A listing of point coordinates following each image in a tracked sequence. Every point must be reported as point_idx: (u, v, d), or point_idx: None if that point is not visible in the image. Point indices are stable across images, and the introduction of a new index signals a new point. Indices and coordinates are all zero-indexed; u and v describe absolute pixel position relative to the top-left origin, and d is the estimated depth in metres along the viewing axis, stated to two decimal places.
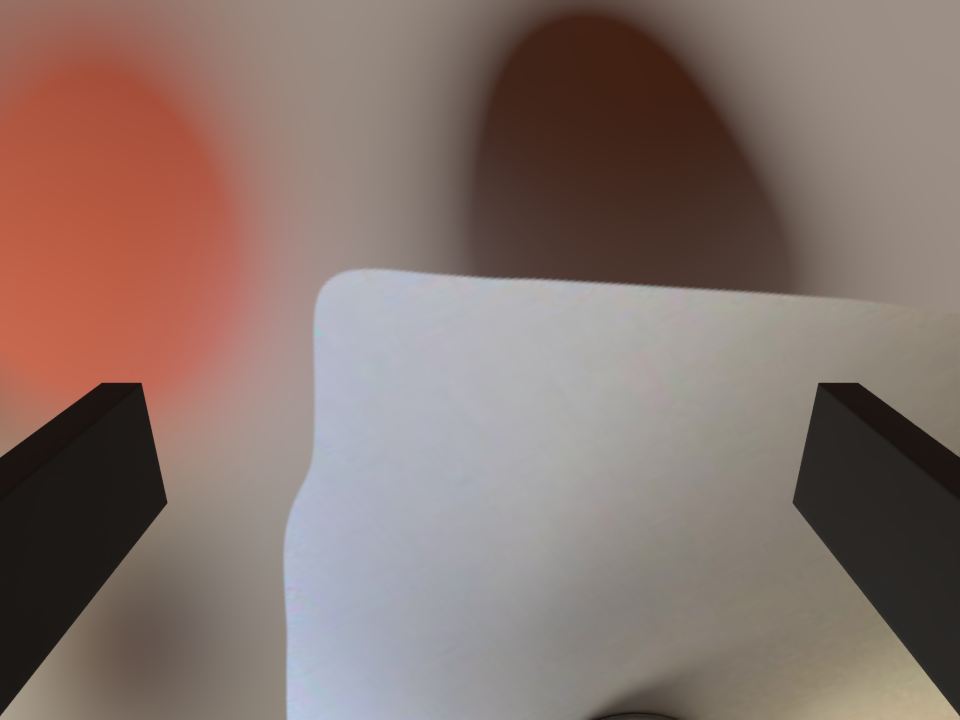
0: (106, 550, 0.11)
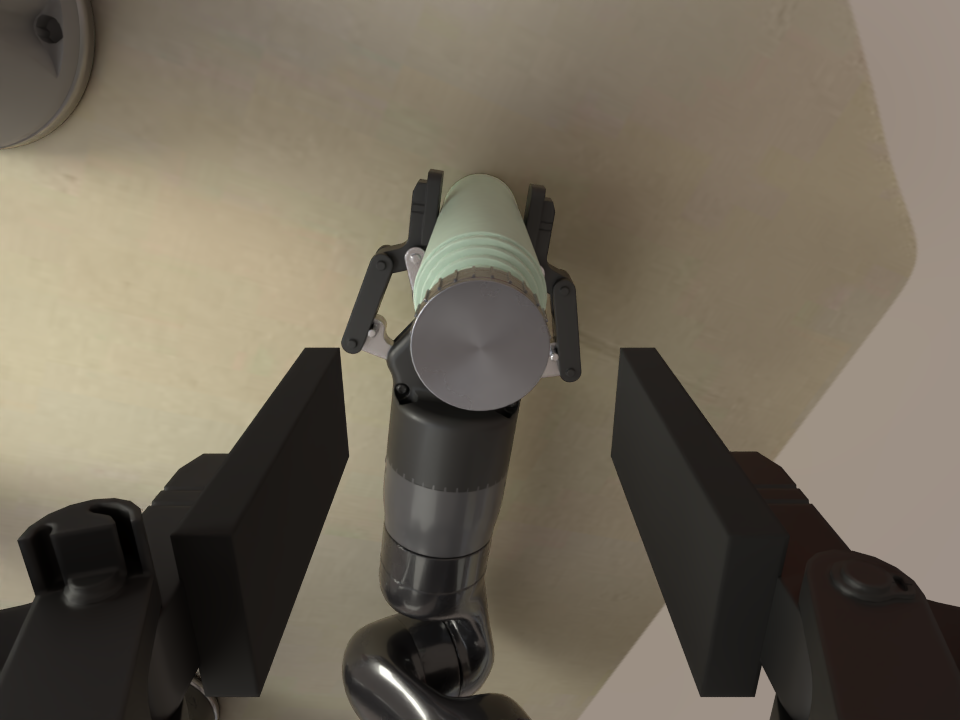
0: (326, 489, 0.13)
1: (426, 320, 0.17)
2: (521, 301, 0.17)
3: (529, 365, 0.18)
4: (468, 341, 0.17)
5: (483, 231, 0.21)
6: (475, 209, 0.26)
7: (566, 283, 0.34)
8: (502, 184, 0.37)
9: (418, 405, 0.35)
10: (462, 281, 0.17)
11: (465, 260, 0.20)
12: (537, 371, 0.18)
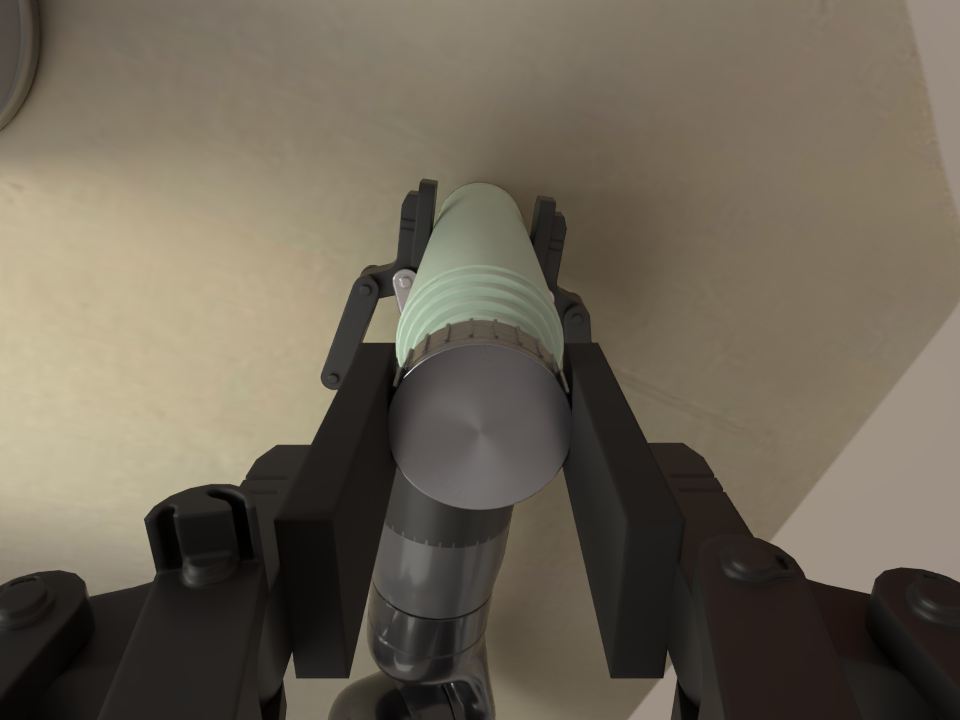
0: (387, 480, 0.13)
1: (407, 395, 0.13)
2: (535, 370, 0.13)
3: (545, 453, 0.13)
4: (464, 422, 0.13)
5: (484, 264, 0.17)
6: (474, 231, 0.21)
7: (579, 310, 0.29)
8: (505, 195, 0.33)
9: None
10: (455, 345, 0.12)
11: (460, 304, 0.16)
12: (556, 460, 0.13)
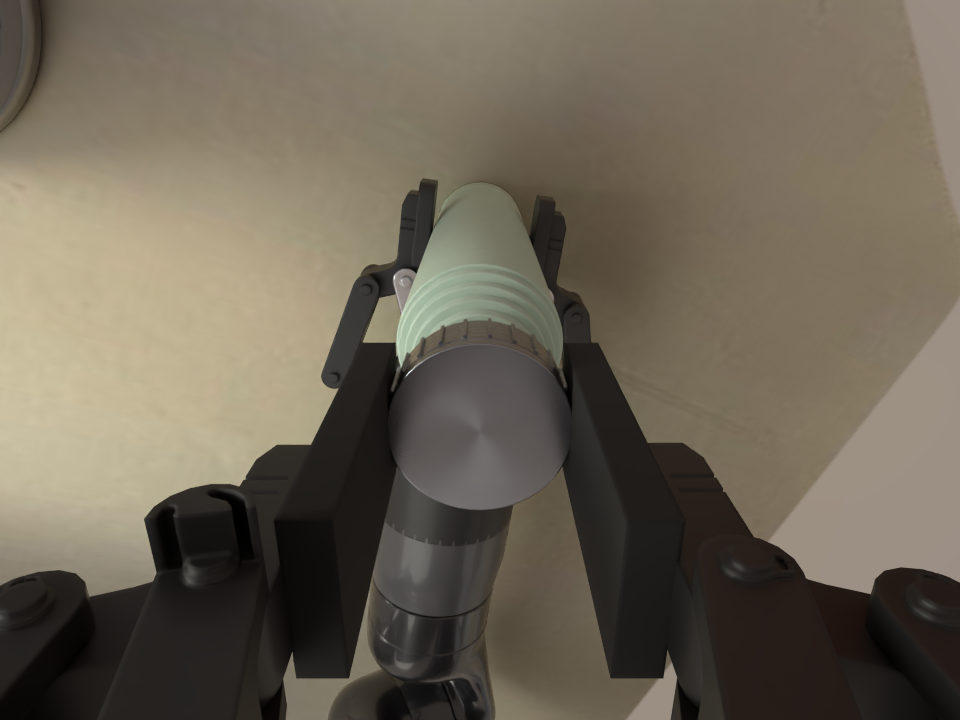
0: (387, 480, 0.13)
1: (485, 500, 0.14)
2: (395, 423, 0.13)
3: (462, 367, 0.13)
4: (480, 448, 0.13)
5: (484, 263, 0.17)
6: (474, 230, 0.21)
7: (578, 309, 0.29)
8: (505, 194, 0.33)
9: None
10: None
11: (461, 303, 0.16)
12: (462, 354, 0.12)
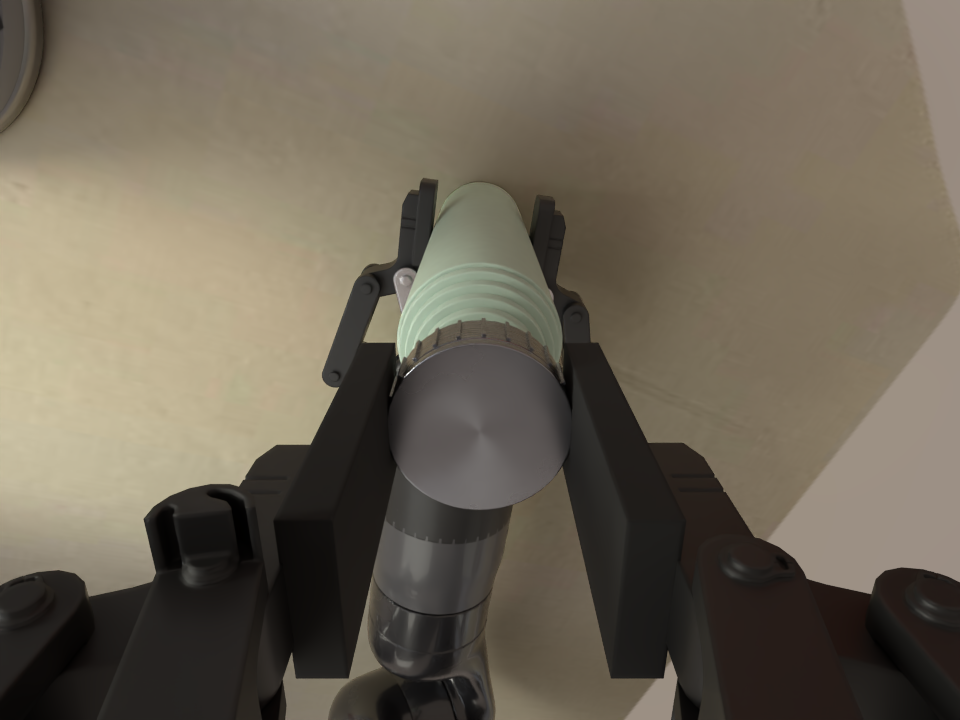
0: (387, 480, 0.13)
1: (545, 386, 0.13)
2: (517, 494, 0.14)
3: (432, 476, 0.14)
4: (495, 422, 0.13)
5: (484, 262, 0.17)
6: (474, 229, 0.21)
7: (578, 308, 0.30)
8: (505, 194, 0.33)
9: None
10: None
11: (461, 301, 0.16)
12: (421, 483, 0.14)
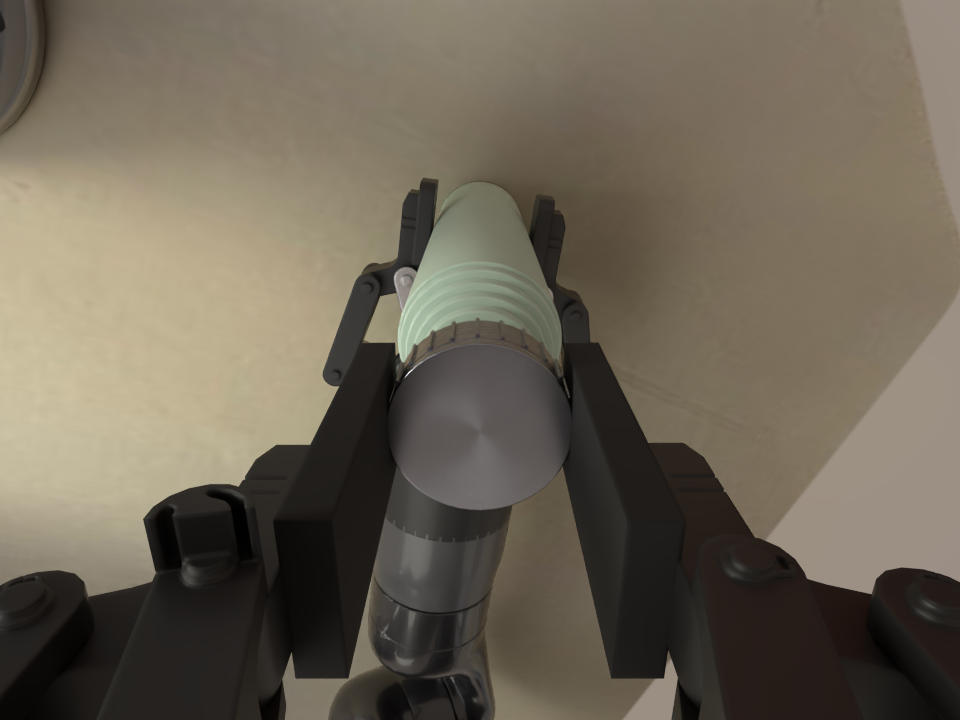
0: (387, 480, 0.13)
1: (401, 409, 0.13)
2: (521, 362, 0.13)
3: (549, 441, 0.13)
4: (462, 425, 0.13)
5: (483, 261, 0.17)
6: (474, 229, 0.22)
7: (578, 307, 0.30)
8: (505, 194, 0.33)
9: None
10: (438, 351, 0.12)
11: (461, 299, 0.16)
12: (562, 447, 0.13)
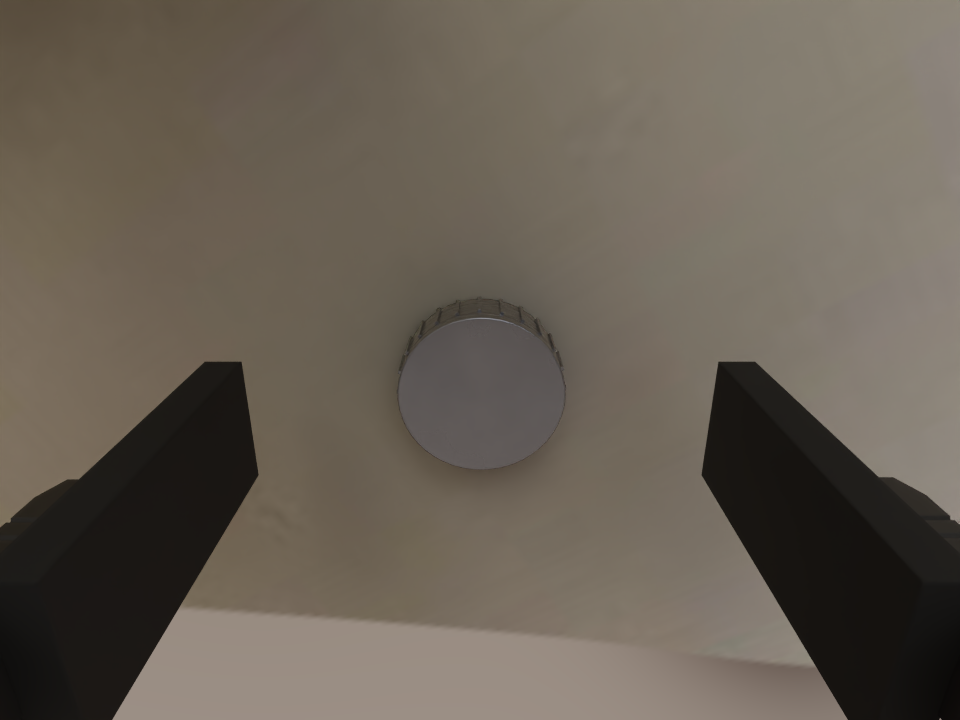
0: (218, 513, 0.12)
1: (411, 377, 0.14)
2: (518, 334, 0.14)
3: (543, 406, 0.15)
4: (465, 392, 0.15)
5: None
6: None
7: None
8: None
9: None
10: (444, 325, 0.14)
11: None
12: (554, 412, 0.15)
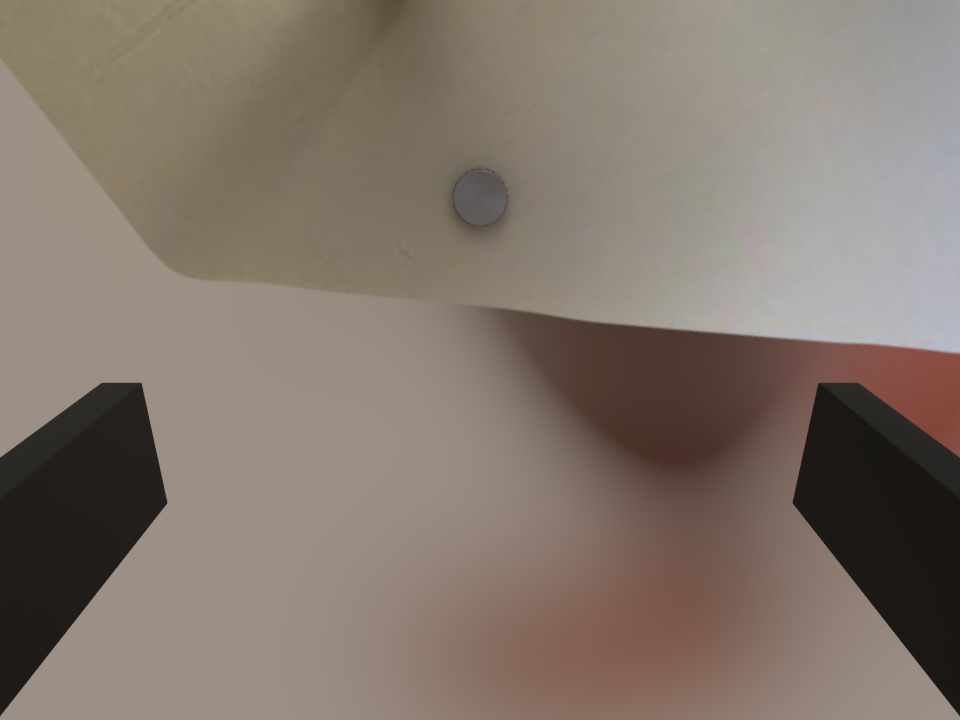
0: (106, 550, 0.11)
1: (458, 191, 0.46)
2: (492, 176, 0.45)
3: (500, 201, 0.46)
4: (475, 196, 0.46)
5: None
6: None
7: None
8: None
9: None
10: (469, 173, 0.45)
11: None
12: (504, 203, 0.46)
